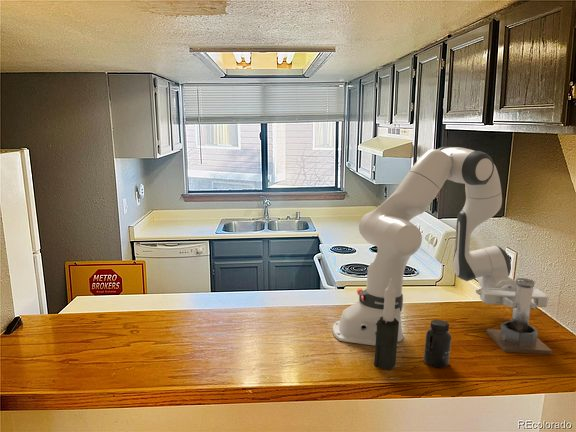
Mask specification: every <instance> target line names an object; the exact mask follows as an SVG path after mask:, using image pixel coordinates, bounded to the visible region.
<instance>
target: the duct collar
mask: <svg viewBox="0 0 576 432" xmlns="http://www.w3.org/2000/svg"><path fill="white" fill-rule="evenodd" d="M511 324H512V320H506V321H503V322H502V323H501V325H500V329H499V328H498V329H497V328H496V329H495V328H486V334H487V335H489V337H490V338H491V339H492V340H493V341H494V343H496V345H498V347H499V348H500V349H501V350H502V351H503V352H504V353H516V354H517V353H519V354H520V353H521V354H536V355H537V354H538V355H540V354H541V355H552V354H553V349H551V348H550V347H549V346H547V344H545V342H543V341H542V340H541V339H540V338H538V334H539V333H538V332H539V330H538V328H536V327H535V326H533V325H532V324H529V323H528V329H527V333H521V332H517V331H514V330H511Z"/></svg>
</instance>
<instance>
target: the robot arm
mask: <svg viewBox="0 0 576 432" xmlns="http://www.w3.org/2000/svg"><path fill="white" fill-rule="evenodd" d="M447 180H448V181H451V182H454V183H458V184H463V185H464V186H465V187H464V189H465V202H464V206H463V207H462V209H461V210H460V211H459V212H458V214H457V217H456V218H457V219H456V229H455V241H454V242H455V243H454V244H455V246H454V254H453V259H452V267H453V268H452V269H453V272H454V274H455V276H456V277H457V278H459V279H460V280H463V281H466V282H469V281H472V280H475V279H476V280H477V282H478V284H479V286H480V288H479V289H476V290H475V293H476V294H477V295H478V296H479V298H480V300H481V302H482V303H483V304H486V305H497V306H507V307H510V308H511V309H513V308H516V305H517V303H516V302H515V293H516V285H517V284H516V280H515V279H512V278H509V276H510V274H511V271H512V262H511V259H510V257H509V254H508V253H507V251H506V250H504V249H503V247H500V246H499V245H497V244H496V245H492V246H487V247H483V248H479V249H475V250H470V248H471V247H470V246H471V235H472V233H473V232H474V230H475V229H476V228H478V227H479V226H480V225H481V224H483V223H485V222H486V221H489V220H491V218H493V217H494V216H495V215H496V214H497V213H498V212H499V211H500V210H501V209H502V204H503V195H502V194H503V193H502V185H501V180H500V175H499V172H498V169H497V167H496V165H495V163H494V161H493V159H492V157H491V156H490V155H489V154H488V153H486V152H485V151H484V152H483V151H480V150H473V149H471V148H466V147H458V146H454V147H453V146H442V147H439V148H437V149H435V148H432V149H429V150H426V152H425V153H423V155H421V156H420V157H419V158H418V160H417V161H416V162H414V164H413V166H412V167H410V169H409V171H408V172H407V174H406V175H405V177H404V178H403V179H402V181H401V182H400V183H399V185H398V186H397V188H396V189H395V190H394V191H393V193H392V194H391V195H390V196H389V197H388V198H386V200H384V201H383V202H382V203H381V204H380V205H378V207H376V208H375V209H373V210H371V211H369V212H367V213H365V214H364V215H363V216H362V217H361V218H360V221H359V223H358V231H359V233H360V235H361V237H362V238H363V239H364V240H365V241H366V242H367V243H368V244H371V245H373V246H375V247H376V248H377V252H376V255H375V258H374V260H373V262H371V263H370V264H369V265H368V267H367V275H366V287H365V289H364V290H363V288H361V287H358V288H357V289H356V293H357V295H358V301H356V302H355V303H353V304H352V305H350V306H348V307H346V308H344V309H343V311H342V314H341V316H340V319H339V320H337V321H335V322H334V324H333V325H332V333H333V335H334V337H335V339H337V340H338V341H339V342H345V343H354V344H360V345H369V346H373V347H374V346H375V344H376V331H377V321H378V320H380V317H382V316H383V311H384V298H385V290H386V288H387V287H388V285H389V283H390V279H393V286H394V289H395V290H396V299H395V311H394V318H395V319H396V320H397V321H399V328H398V340H397V343H398V342H401V341H402V340H403V339H404V332H403V327H402V310H403V303H404V295H403V294H402V293H403V284H404V283H403V282H404V274H405V271H406V270H405V269H406V267H407V264H408V262H409V259H410V258H411V256H412V255H415V254H416V253H417V252H418V250H419V249H420V247H421V245H422V240H423V235H422V233H421V231H420V229H419V227H417V225H415V224H414V223H412V222H411V221H412V219H413V218H415V217H417V216H419V215H422V214H423V213H425V212H426V211H427V209H428V208H429V206H430V205H431V204H432V202H433V200H434V199H435V198H436V197H437V195H438V194H439V192H440V190H441V189H442V188H443V186H444V184H445V182H446V181H447ZM548 301H549V296H548V295H547V294H546V293H544V291H542V290H540V289H538V288H536V287H533V292H532V300H531V307H530V310H536V308H537V307H539V308H546V307H547V306H548V303H549V302H548Z"/></svg>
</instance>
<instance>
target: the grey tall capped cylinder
mask: <svg viewBox="0 0 576 432" xmlns="http://www.w3.org/2000/svg"><path fill="white" fill-rule="evenodd" d="M516 284H517V285H516V293H515V302H516V303H517V305H516V308H512V317H511V321H512V324H511V330H514V331H517V332H521V333H527V329H528V324H529V320H530V315H531V314H530V313H531V309H530V307H531V300H532V292H533V288H535V280H532V279H529V278H524V277H517V278H516Z"/></svg>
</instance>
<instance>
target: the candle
mask: <svg viewBox="0 0 576 432" xmlns="http://www.w3.org/2000/svg"><path fill="white" fill-rule="evenodd" d="M395 299H396V290H395V289H394V286H393V279H390V283H389V285H388V287H387V288H386V290H385V298H384V311H383V316H382V317H380V320H378V321H377V331H376V344H375V347H374V360H373V365H374V366H375V367H376V368H380V369H384V370H386V371H391V370H393V369H394V367H395V366H396V363H397V349H398V342H397V340H398V328H399V321H397V320H396V319H395V318H394V311H395Z"/></svg>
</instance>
